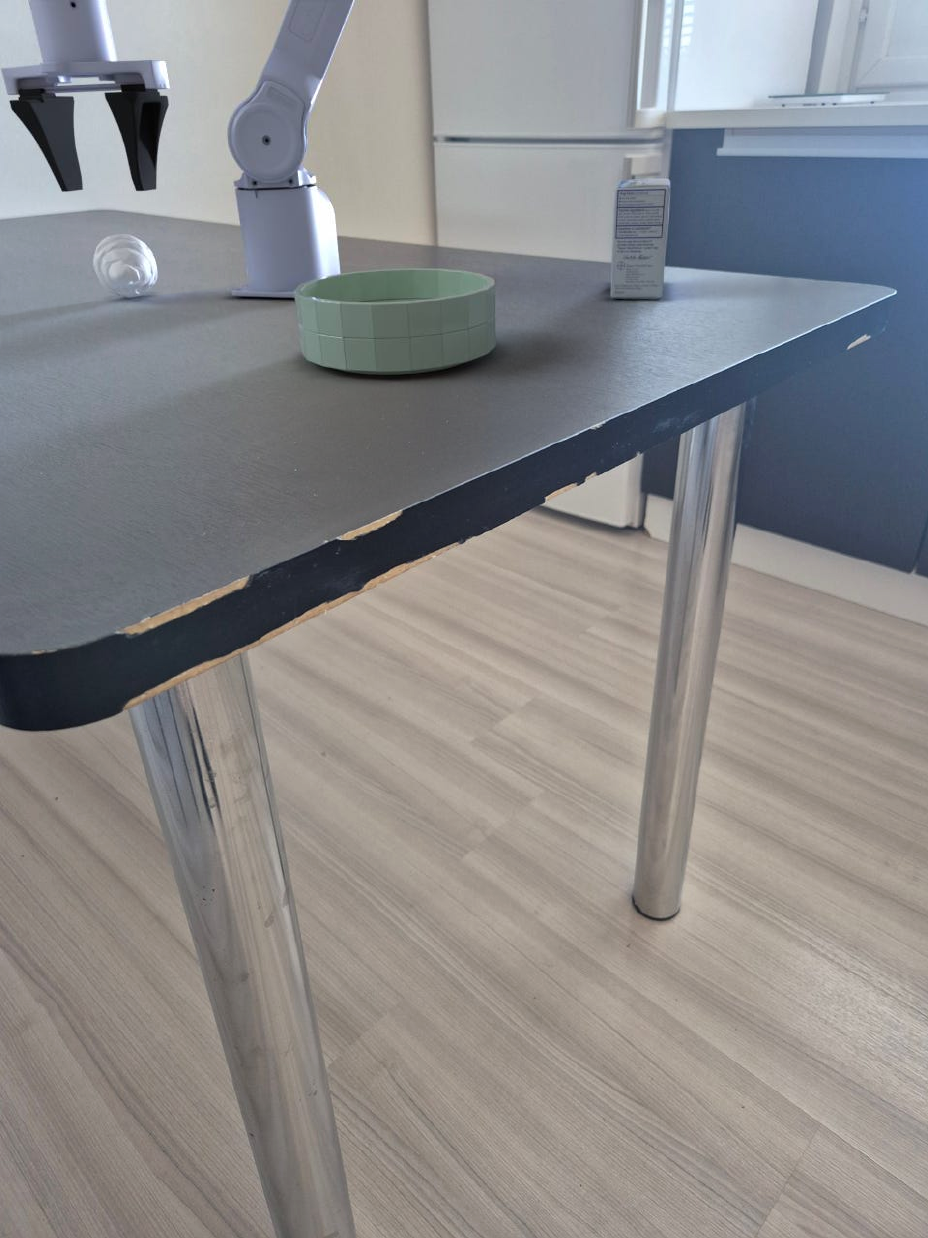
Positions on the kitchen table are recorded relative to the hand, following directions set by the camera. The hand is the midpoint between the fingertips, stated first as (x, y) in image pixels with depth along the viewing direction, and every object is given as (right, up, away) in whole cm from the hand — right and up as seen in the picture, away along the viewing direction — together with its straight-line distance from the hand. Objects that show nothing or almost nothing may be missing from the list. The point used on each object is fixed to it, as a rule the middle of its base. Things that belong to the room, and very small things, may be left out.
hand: (109, 190), depth 73 cm
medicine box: (+46, -9, +1) cm, 47 cm away
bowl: (+27, -19, -16) cm, 36 cm away
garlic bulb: (0, -8, +5) cm, 9 cm away
